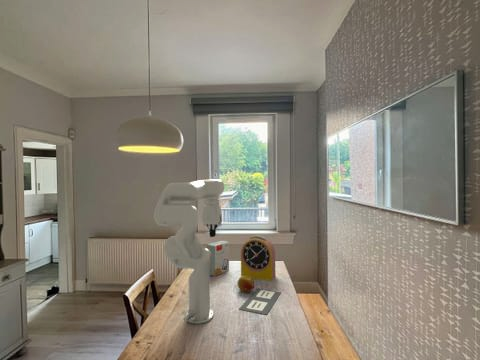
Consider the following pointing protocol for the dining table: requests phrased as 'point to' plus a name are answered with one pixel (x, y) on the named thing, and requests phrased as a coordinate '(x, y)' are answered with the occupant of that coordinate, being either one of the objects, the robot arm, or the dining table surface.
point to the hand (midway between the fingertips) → (212, 236)
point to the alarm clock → (258, 258)
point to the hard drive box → (219, 257)
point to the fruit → (245, 283)
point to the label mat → (260, 301)
